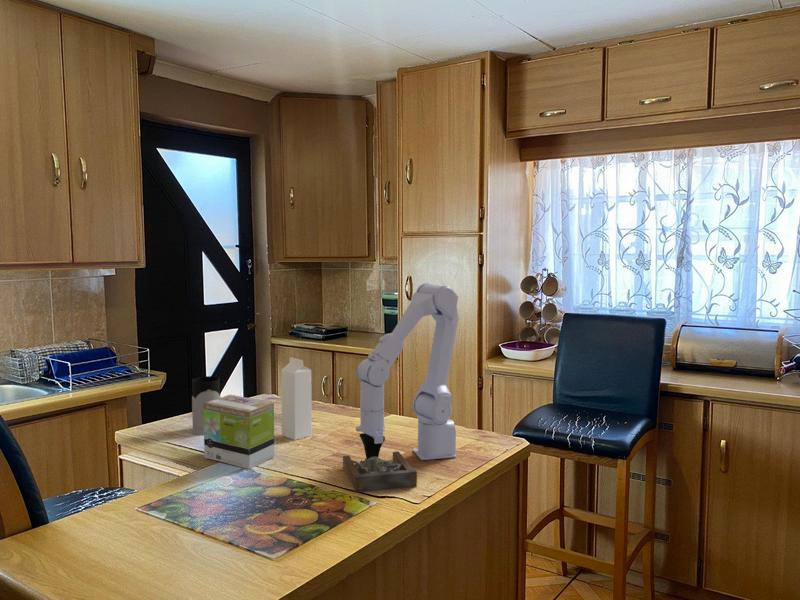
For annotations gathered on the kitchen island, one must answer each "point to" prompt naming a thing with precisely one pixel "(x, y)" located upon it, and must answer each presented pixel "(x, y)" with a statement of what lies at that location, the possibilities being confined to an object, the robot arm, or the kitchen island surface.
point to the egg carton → (375, 465)
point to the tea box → (239, 430)
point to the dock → (381, 476)
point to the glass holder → (203, 399)
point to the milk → (296, 400)
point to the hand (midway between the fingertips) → (372, 463)
